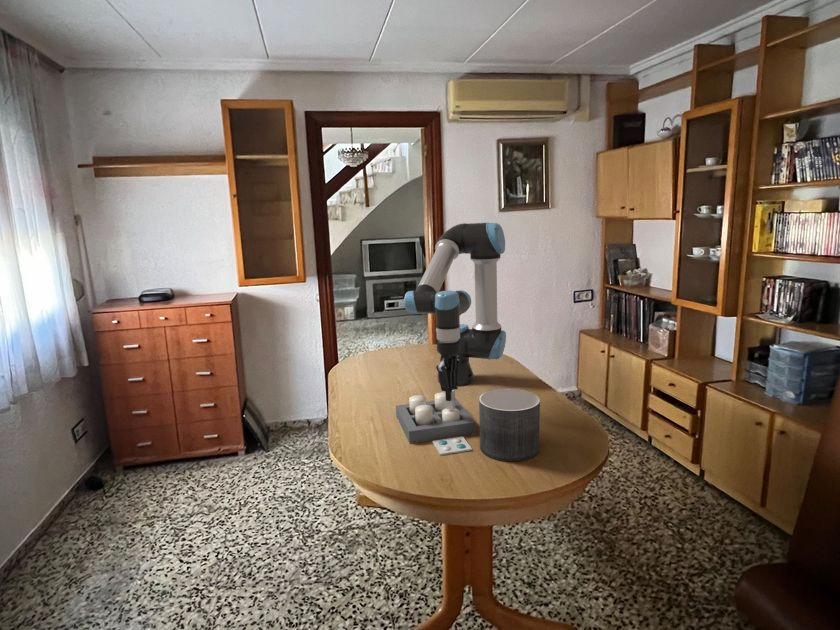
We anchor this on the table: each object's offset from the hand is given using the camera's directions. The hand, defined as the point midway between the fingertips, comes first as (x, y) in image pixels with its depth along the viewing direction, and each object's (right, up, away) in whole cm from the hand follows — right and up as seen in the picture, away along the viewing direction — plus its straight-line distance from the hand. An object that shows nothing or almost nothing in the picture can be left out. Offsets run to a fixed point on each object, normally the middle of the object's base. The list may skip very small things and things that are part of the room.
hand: (450, 408), depth 171 cm
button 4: (0, -6, +1) cm, 6 cm away
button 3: (-2, -2, +9) cm, 10 cm away
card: (0, -10, -11) cm, 15 cm away
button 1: (-11, -3, +7) cm, 13 cm away
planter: (+17, -10, -14) cm, 24 cm away
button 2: (-9, -5, -1) cm, 10 cm away
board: (-5, -6, +5) cm, 9 cm away
